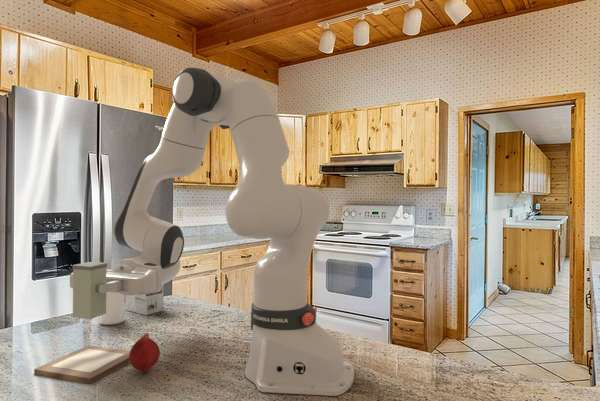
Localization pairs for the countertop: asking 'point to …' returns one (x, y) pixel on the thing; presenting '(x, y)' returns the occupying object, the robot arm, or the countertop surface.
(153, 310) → the light bulb box
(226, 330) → the countertop surface
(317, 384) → the robot arm
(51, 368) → the board
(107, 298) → the can
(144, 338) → the onion
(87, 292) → the tea tin
